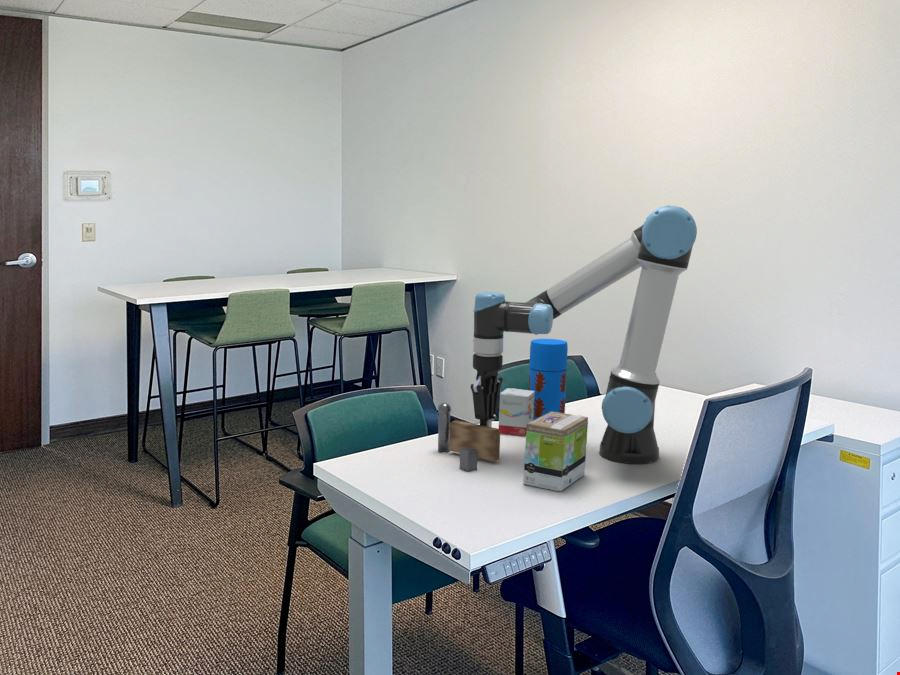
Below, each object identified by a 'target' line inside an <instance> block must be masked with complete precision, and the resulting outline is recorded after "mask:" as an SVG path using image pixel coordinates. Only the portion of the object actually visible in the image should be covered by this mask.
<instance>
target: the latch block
mask: <svg viewBox="0 0 900 675" xmlns="http://www.w3.org/2000/svg"><path fill="white" fill-rule="evenodd" d="M477 451H478V450H477V449H475V448H472V447H465V448H461V449H460V453H459V469H460V470H462V471H465V472H467V473H468V472H471V471H475V470H478V457H477Z"/></svg>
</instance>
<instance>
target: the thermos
mask: <svg viewBox="0 0 900 675" xmlns="http://www.w3.org/2000/svg"><path fill="white" fill-rule="evenodd" d="M568 346H569V345H568V341H566V340H563V339H555V338H536V339H531V340H530V346H529V369H528V370H529V371H528V390H530V391H535V397H534V415H533V420H535V419H537V418H539V417H541V416H543V415H545V414H547V413H549V412H551V411H552V412H559V413H565V414H566V396H567V394H566V393H567V375H568V374H567V370H568V350H569V349H568Z"/></svg>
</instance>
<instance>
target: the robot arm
mask: <svg viewBox="0 0 900 675" xmlns="http://www.w3.org/2000/svg"><path fill="white" fill-rule="evenodd" d="M697 229H698V228H697V223H696V220H695V219H694V216H692V214H691V213H690V212H689V211H688V210H686V209H684V208H683V207H680V206H677V205H664V206H660V207H658V208H656V209H654V210H653V211H652V212H650V214H649V215H648V216H647V217H646V219H645V221H644V222H643V224H642V225H641V226H639V227H638V228H636V229H634V230H633V231H632V232H631V236H630V237H629V238H628V239H626V240H623V242H621V243H619V244H618V245H616V246H615V247H613V248H612V249H610V250H608V251H607V252H605V253H603V254H602V255H600V256H599V257H597V258H596V259H594V260H592V261H591V262H589V263H588V264H586V265H584V266H583V267H581V268H580V269H578V270H576V271H575V272H573V273H571V274H570V275H568V276H567V277H564V279H561V280H560V281H559V282H557V283H556V284H553V285H552V286H550V287H549V288H547V289H546V290H544V291H543V292H541V293H539V294H538V295H536V296H534V297H532V298H530V299H529V300H528V301H526V302H518V301H517V302H515V301H513V302H512V301H507V300H506V296H505V294H504V293H502V292H497V291H483V292H482V291H481V292H478V293H477V294H475V296H474V297H475V298H474V308H473V339H472V343H473V345H472V346H473V353H474V354H472V368H473V369H474V370H476V371H477V372H476V376H475V382H474V383H471V384H470V391H471V392H472V403H473V411H474V418H475V419H477V420H479V425H483V426H488V427H492V422H493V420H495V419H496V418H497V416H496V415H497V413H498V409H499V402H500V393H501V386H502V383H503V381H504V380H503V377H502V376H499V371H501V370H502V369H503V361H504V357H503V355H502V354H503V353H504V334H505V333H518V334H531V335H532V334H534V335H548V334H550V333H551V331H552V329H553V323H554V320H555V319H557V318H559V317H560V316H561V315H562V314H565V313H566V312H568V311H570V310H572V309H573V308H574V307H576V306H578V305H579V304H581V303H583V302H585V301H587V300H588V299H590V298H591V297H593V296H594V295H596V294H598V293H599V292H602V291H603V290H605V289H606V288H608V287H609V286H611V285H614V284H615V283H616V282H618V281H620V280H621V279H624V277H626V276H628V275H629V274H631V273H633V272H635V271H636V270H639V269H640V268H641V269H640V275H639V278H638V282H637V287H636V292H635V297H634V299H633V300H634V301H633V304H632V308H631V313H630V318H629V322H628V325H627V330H626V334H625V338H624V342H623V343H624V344H623V348H622V352H621V356H620V360H619V364H617V365H616V367H614V368H612V369H611V370H610V375H609V380H608V384H607V387H606V392H605V396H604V397H603V400H602V402H601V412H602V416H603V419H604V421H605V422H606V424H607V426H606V428H605V431H604V433H603V436H602V439H601V442H600V444H599V455H600V456H601V457H602V458H604V459H607V460H610V461H614V462H617V463H618V462H619V463H624V464H632V465H633V464H636V465H637V464H638V465H639V464H641V465H642V464H648V463H654V462H656V461H658V460H659V458H660V457H659V456H660V448H659V446H658V441H657V437H656V433H655V429H654V427H655V426H654V425H655V423H654V422H655V411H656V400H657V399H656V398H657V394H658V391H659V386H660V379H659V378H658V376H657V373H656V372H657V367H658V362H659V359H660V354H661V350H662V346H663V343H664V342H663V341H664V337H665V333H666V329H667V326H668V321H669V317H670V313H671V309H672V305H673V301H674V296H675V292H676V289H677V285H678V284H677V283H678V280H679V276H680V275H681V274H682V273H684V272H686V271H688V267H689V264H690V259H691V255H692V251H693V246H694V244H695V243H696V239H697V234H698V230H697ZM504 332H505V333H504ZM492 428H493V427H492Z"/></svg>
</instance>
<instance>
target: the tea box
mask: <svg viewBox="0 0 900 675" xmlns="http://www.w3.org/2000/svg"><path fill="white" fill-rule="evenodd" d="M588 425H589V417H588V416H583V415H579V414H578V415H577V414H569V413H566V412H565V413H559V412H552V411H551V412H549V413H547V414H545V415H543V416H541V417H539V418H537V419H535V420H533V421H531V422H529V423H527V429H526V436H525V444H524V445H525V446H524V464H523V467H524V469H523V479H522V481H523V482H522V484H524V485H527V486H531V487H535V488H540V489H546V490H549V489H550V490H551V491H555V492H562V491H563V490H564V489H566V488H568V487H569V486H571V485H572V484H573V483H574V482H576V481H577V480H578V479H580V478H581V477H583V476H584V475H585V470H586V460H587V459H586V456H587V441H588ZM550 490H549V491H550Z"/></svg>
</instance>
